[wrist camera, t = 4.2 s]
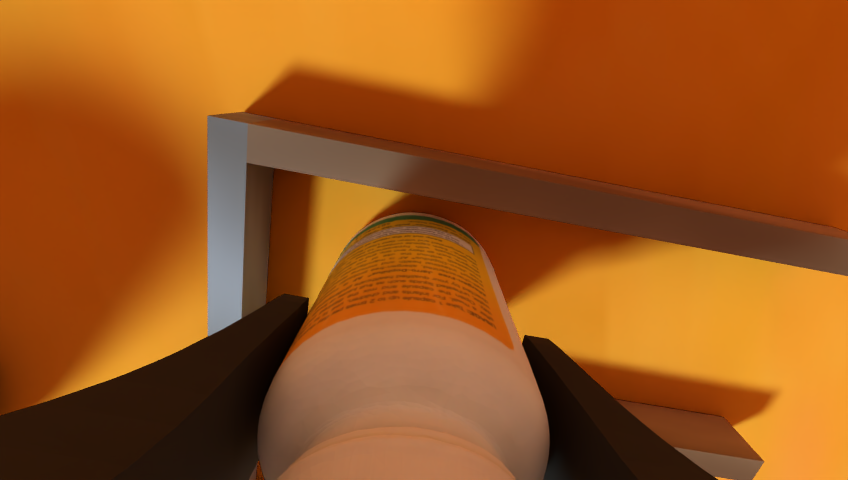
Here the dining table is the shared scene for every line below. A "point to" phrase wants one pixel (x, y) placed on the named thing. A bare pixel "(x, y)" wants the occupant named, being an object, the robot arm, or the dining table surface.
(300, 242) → the dining table surface
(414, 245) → the supplement bottle
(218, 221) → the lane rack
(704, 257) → the dining table surface
